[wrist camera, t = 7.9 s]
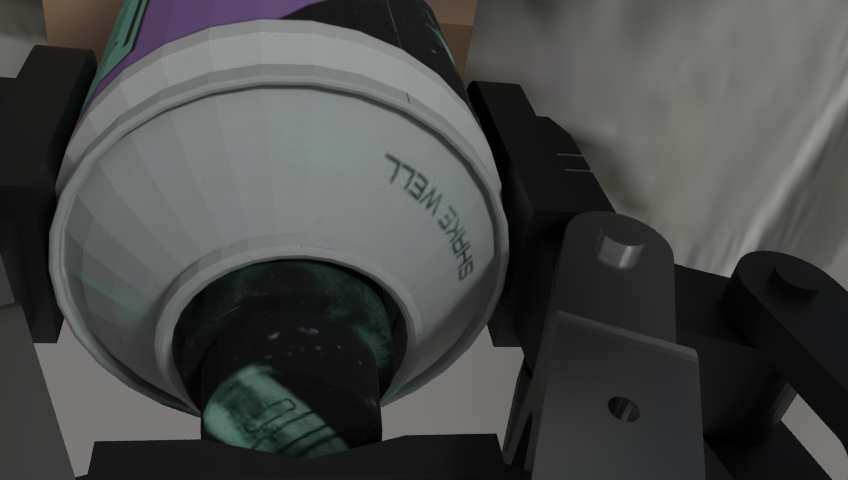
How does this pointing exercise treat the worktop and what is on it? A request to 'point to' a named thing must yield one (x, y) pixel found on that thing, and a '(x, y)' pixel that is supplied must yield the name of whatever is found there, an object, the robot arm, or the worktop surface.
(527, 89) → the worktop surface
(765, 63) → the worktop surface
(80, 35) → the socket block
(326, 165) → the spray can
